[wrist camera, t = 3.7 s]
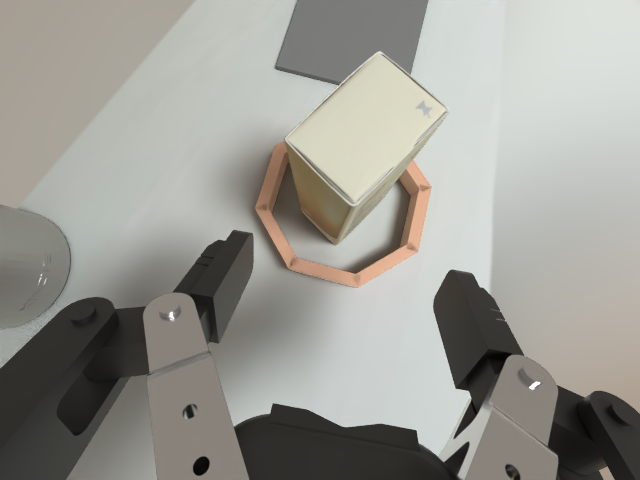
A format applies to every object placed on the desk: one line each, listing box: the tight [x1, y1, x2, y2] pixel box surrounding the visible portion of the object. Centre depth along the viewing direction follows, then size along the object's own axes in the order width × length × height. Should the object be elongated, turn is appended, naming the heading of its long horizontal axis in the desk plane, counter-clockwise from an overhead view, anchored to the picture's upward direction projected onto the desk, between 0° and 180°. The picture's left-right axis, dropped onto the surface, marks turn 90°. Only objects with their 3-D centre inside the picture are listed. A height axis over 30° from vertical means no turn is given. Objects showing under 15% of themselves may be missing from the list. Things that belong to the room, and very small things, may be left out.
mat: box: [276, 0, 428, 85], centre depth 27 cm, size 12×14×1 cm
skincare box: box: [285, 51, 450, 245], centre depth 18 cm, size 6×4×12 cm
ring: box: [255, 142, 431, 288], centre depth 23 cm, size 13×13×2 cm
